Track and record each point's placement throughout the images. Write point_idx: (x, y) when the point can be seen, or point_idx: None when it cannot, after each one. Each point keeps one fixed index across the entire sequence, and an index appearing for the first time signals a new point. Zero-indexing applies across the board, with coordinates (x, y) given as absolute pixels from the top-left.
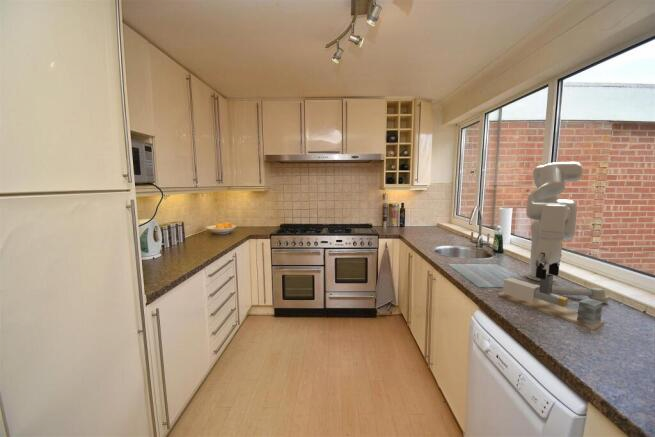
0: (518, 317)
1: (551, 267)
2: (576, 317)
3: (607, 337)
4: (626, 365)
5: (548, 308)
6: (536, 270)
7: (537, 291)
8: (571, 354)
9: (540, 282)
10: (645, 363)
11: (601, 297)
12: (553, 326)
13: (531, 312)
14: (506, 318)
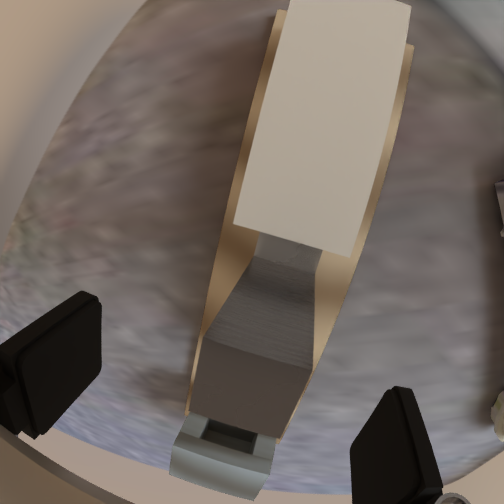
0: (73, 192)
1: (389, 478)
2: None
3: (168, 427)
4: (68, 418)
5: None
6: (28, 328)
7: (257, 244)
8: None
9: (230, 293)
10: (107, 448)
11: (502, 429)
12: (102, 308)
13: (162, 219)
14: (39, 164)
